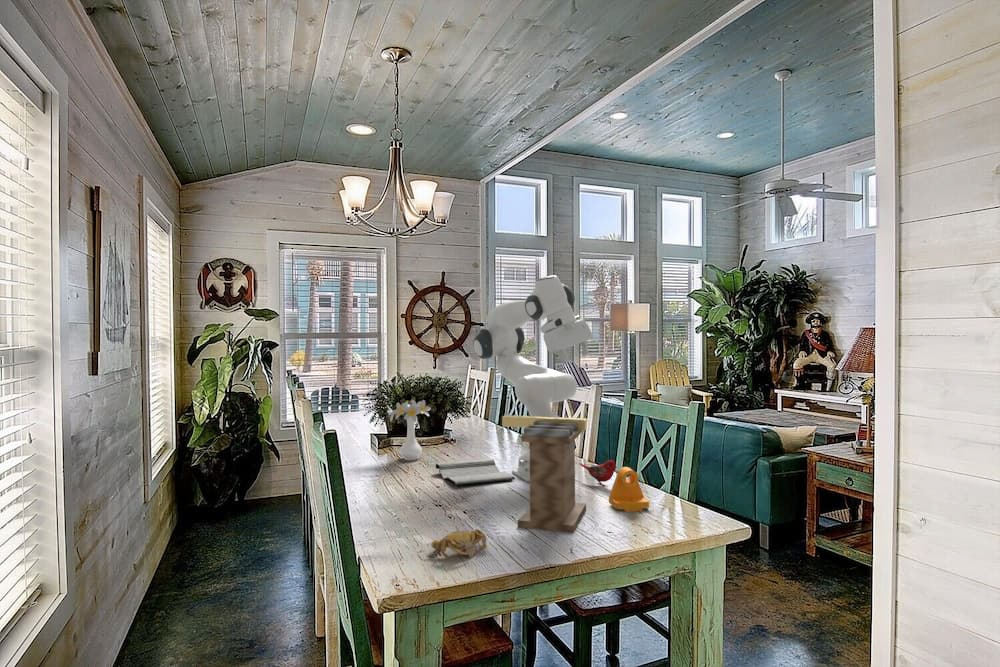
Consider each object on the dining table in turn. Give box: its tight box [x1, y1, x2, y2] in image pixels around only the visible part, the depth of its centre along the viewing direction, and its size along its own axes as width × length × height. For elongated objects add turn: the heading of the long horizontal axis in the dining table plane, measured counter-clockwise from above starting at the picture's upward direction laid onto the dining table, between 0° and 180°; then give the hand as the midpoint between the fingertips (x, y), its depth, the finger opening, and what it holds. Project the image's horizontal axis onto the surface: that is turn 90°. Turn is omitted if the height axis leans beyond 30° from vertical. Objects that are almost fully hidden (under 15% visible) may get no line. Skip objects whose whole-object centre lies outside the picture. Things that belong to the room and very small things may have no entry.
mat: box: [435, 458, 516, 488], centre depth 230 cm, size 23×24×5 cm
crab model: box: [431, 528, 488, 559], centre depth 157 cm, size 15×13×6 cm
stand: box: [517, 422, 587, 534], centre depth 182 cm, size 16×21×28 cm
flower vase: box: [386, 399, 432, 461], centre depth 260 cm, size 13×18×25 cm
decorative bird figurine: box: [579, 459, 618, 487], centre depth 218 cm, size 3×18×10 cm, turn 40°
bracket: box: [608, 466, 650, 512], centre depth 192 cm, size 11×7×12 cm, turn 98°
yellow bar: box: [501, 414, 588, 431], centre depth 188 cm, size 26×3×3 cm, turn 72°
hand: (577, 358), depth 206 cm, fingers open, 8 cm apart
